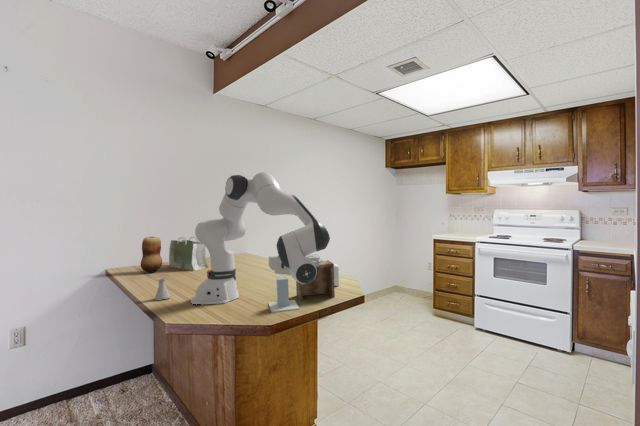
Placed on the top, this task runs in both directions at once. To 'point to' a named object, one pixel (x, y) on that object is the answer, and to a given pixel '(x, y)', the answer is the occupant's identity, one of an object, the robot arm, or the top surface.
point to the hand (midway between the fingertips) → (291, 257)
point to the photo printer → (336, 275)
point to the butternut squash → (151, 254)
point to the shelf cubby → (319, 282)
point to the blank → (282, 291)
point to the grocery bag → (187, 254)
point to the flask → (162, 290)
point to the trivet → (276, 308)
